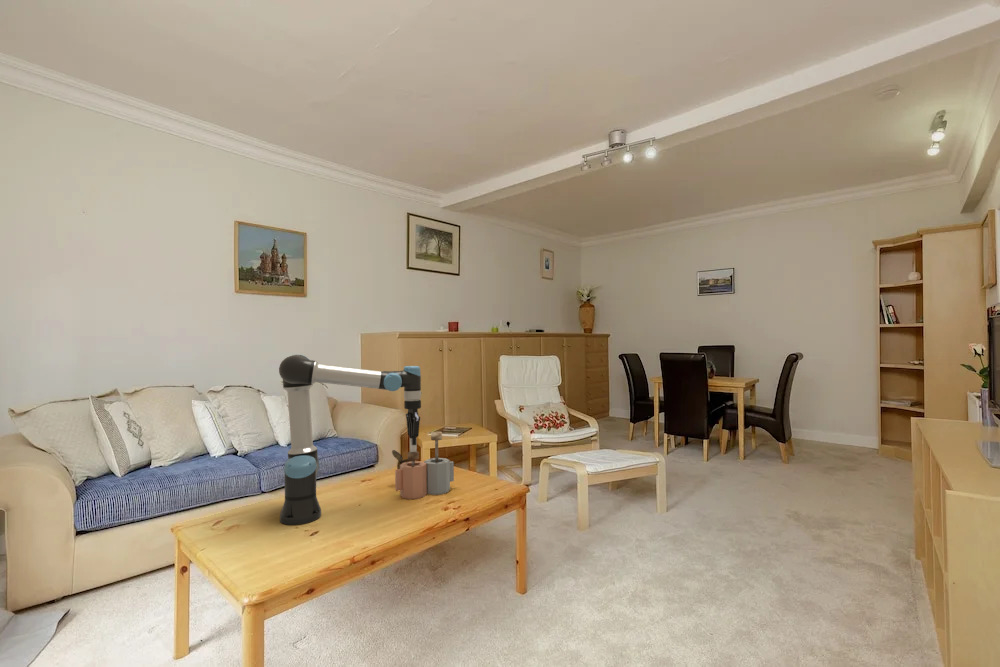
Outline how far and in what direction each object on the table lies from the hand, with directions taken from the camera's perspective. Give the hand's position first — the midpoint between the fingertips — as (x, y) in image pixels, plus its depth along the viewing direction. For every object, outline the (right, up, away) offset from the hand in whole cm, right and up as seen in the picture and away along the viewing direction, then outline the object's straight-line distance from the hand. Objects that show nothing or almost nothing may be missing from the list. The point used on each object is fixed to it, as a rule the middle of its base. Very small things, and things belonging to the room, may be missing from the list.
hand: (413, 451), depth 217 cm
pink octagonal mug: (-1, -20, -1) cm, 20 cm away
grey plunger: (+10, -9, +6) cm, 14 cm away
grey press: (+11, -20, +6) cm, 23 cm away
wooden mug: (-7, -20, +17) cm, 28 cm away
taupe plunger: (0, -16, 0) cm, 16 cm away
